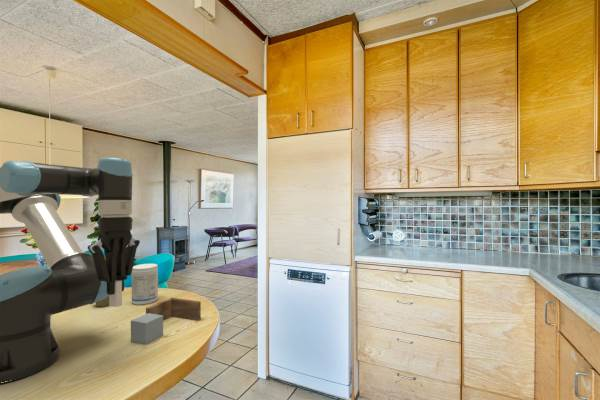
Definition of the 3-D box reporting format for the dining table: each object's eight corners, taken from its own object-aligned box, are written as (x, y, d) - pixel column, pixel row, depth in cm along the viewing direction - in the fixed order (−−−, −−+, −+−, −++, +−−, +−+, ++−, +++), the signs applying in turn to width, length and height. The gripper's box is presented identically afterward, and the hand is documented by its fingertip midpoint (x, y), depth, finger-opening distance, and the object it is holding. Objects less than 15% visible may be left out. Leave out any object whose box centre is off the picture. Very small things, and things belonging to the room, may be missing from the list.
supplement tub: (136, 298, 120) (136, 264, 120) (160, 296, 122) (160, 262, 122) (128, 306, 110) (128, 268, 110) (154, 304, 112) (154, 267, 113)
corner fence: (176, 332, 87) (176, 312, 87) (145, 326, 92) (145, 307, 92) (200, 318, 97) (200, 301, 97) (171, 314, 102) (171, 297, 102)
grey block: (146, 344, 80) (146, 323, 80) (130, 341, 82) (130, 320, 82) (163, 335, 85) (163, 315, 85) (148, 332, 87) (148, 313, 87)
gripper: (100, 217, 67) (100, 316, 67) (147, 215, 80) (147, 299, 79) (79, 217, 70) (79, 312, 69) (128, 215, 82) (128, 296, 82)
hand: (115, 305), depth 74 cm, fingers closed
